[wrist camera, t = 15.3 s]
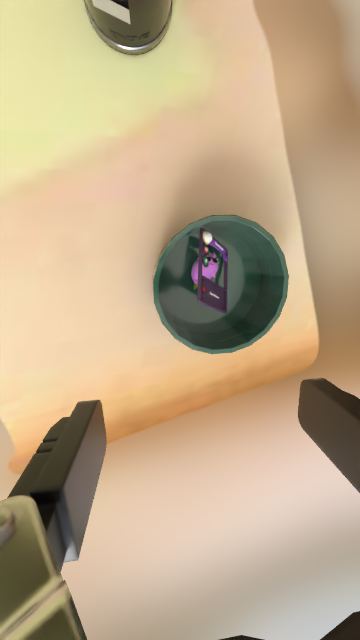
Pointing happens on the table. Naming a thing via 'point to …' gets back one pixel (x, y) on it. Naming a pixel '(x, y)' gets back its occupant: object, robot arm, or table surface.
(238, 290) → the bowl
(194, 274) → the game card
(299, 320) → the table surface
